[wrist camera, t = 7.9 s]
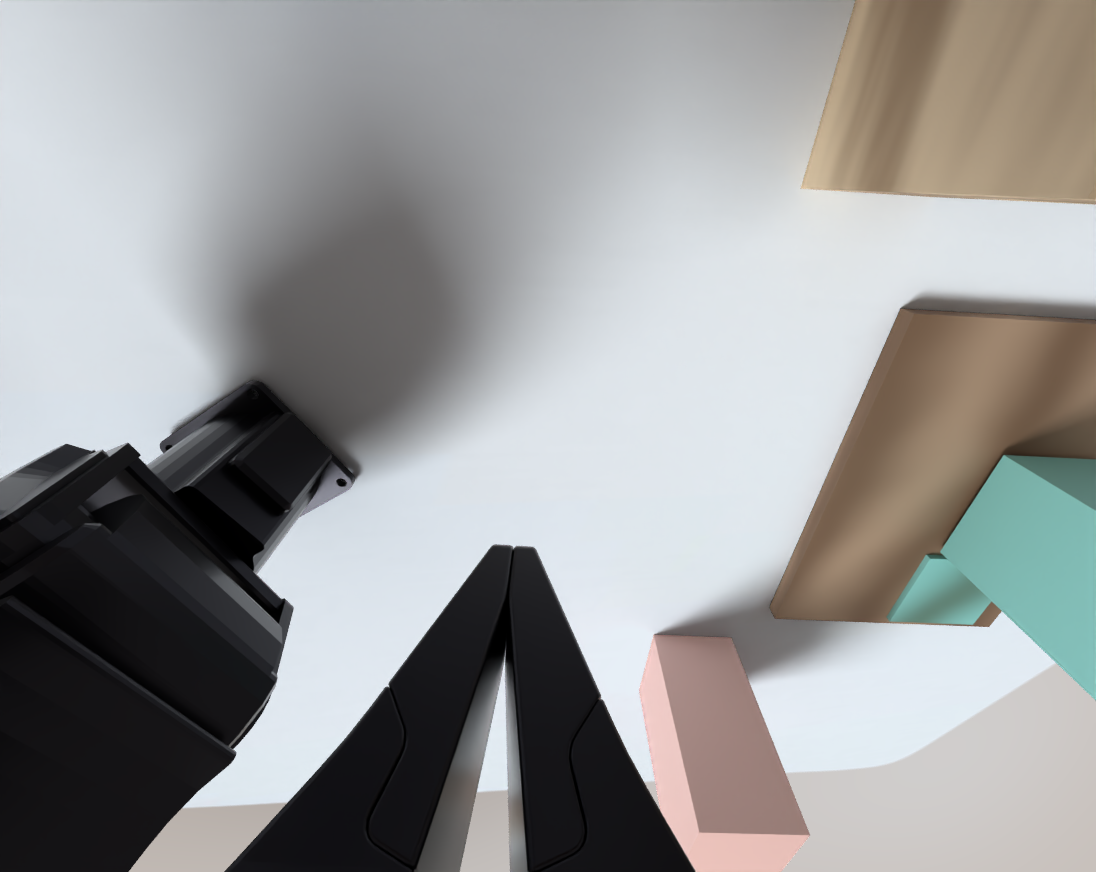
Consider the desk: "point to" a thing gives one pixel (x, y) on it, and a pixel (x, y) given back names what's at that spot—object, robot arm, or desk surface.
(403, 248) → the desk surface
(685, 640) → the rose block
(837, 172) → the oak block
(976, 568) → the teal block
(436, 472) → the desk surface
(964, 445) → the walnut board
